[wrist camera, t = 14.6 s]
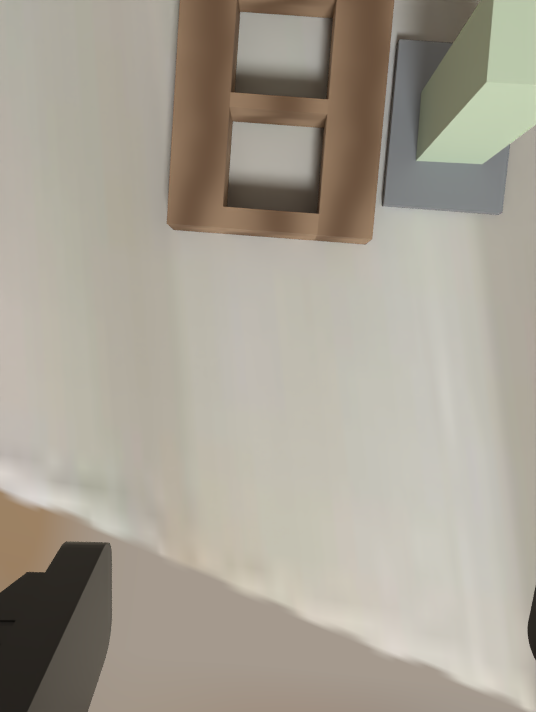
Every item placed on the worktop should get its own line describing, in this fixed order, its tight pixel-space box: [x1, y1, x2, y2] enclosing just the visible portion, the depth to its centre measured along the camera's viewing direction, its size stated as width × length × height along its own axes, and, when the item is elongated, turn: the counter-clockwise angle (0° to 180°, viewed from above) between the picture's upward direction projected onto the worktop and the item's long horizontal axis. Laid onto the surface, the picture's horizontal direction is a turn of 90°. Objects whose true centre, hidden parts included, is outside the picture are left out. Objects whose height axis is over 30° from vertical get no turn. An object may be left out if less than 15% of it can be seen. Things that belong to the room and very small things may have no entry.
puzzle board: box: [167, 0, 394, 244], centre depth 35 cm, size 15×18×2 cm
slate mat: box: [382, 39, 510, 215], centre depth 36 cm, size 9×12×1 cm
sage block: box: [416, 0, 536, 164], centre depth 30 cm, size 5×5×12 cm
